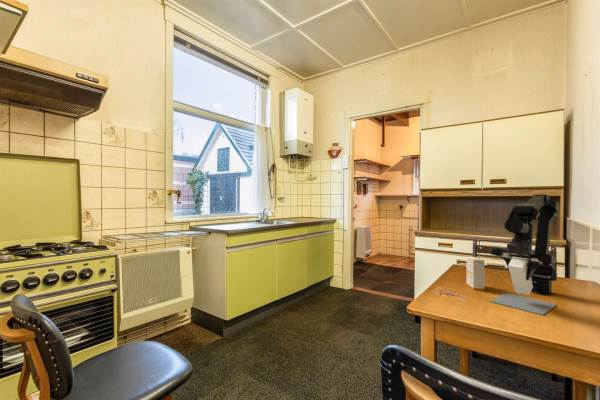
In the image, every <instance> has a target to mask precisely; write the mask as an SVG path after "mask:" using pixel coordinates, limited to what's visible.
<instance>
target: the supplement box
mask: <svg viewBox="0 0 600 400" xmlns="http://www.w3.org/2000/svg"><path fill="white" fill-rule="evenodd" d="M485 277H486V276H485V259H482V258H480V257H478V256H466V285H467V286H468V287H470V288H471V289H472V290H477V291H478V290H481V291H485V280H486V279H485Z"/></svg>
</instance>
